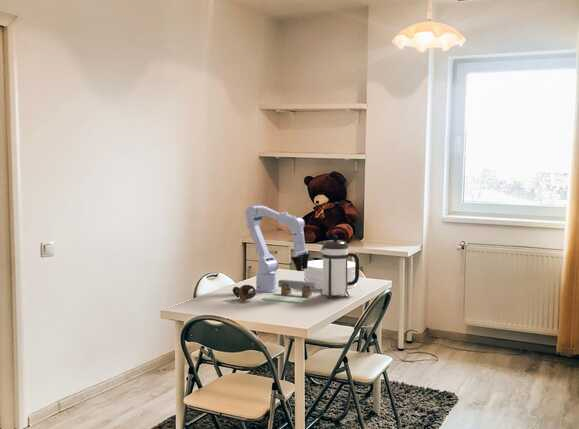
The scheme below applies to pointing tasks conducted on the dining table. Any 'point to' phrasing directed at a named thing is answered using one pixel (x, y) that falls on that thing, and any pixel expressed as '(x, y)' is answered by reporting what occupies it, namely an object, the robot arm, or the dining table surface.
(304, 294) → the bracket right
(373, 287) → the dining table surface
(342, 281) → the coffee press
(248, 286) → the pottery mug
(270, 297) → the mat
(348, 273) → the plate stack
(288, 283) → the rail
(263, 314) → the dining table surface
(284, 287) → the bracket left
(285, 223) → the robot arm
